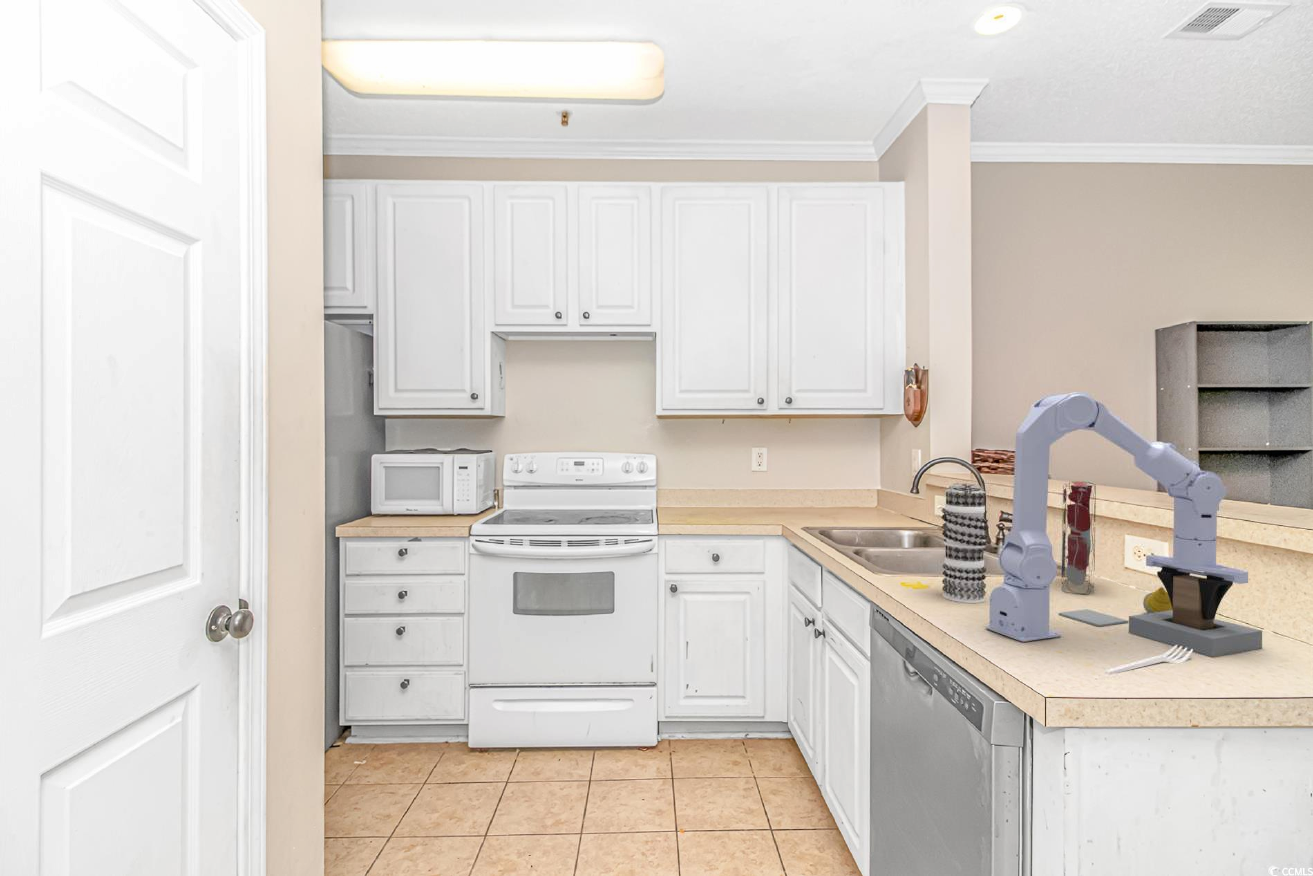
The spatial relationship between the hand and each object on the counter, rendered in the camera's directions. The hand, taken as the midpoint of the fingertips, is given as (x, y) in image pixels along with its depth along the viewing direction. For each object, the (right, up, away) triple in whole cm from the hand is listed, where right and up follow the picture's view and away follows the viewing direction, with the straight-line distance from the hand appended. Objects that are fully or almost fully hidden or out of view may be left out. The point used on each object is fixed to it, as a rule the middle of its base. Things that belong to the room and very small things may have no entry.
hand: (1193, 615), depth 109 cm
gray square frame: (0, -4, 0) cm, 4 cm away
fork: (-17, -5, -11) cm, 21 cm away
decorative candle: (-27, -4, +27) cm, 39 cm away
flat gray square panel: (-9, -4, +12) cm, 16 cm away
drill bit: (+6, -5, +13) cm, 15 cm away
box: (+2, -4, +33) cm, 34 cm away
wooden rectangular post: (0, -4, 0) cm, 4 cm away
